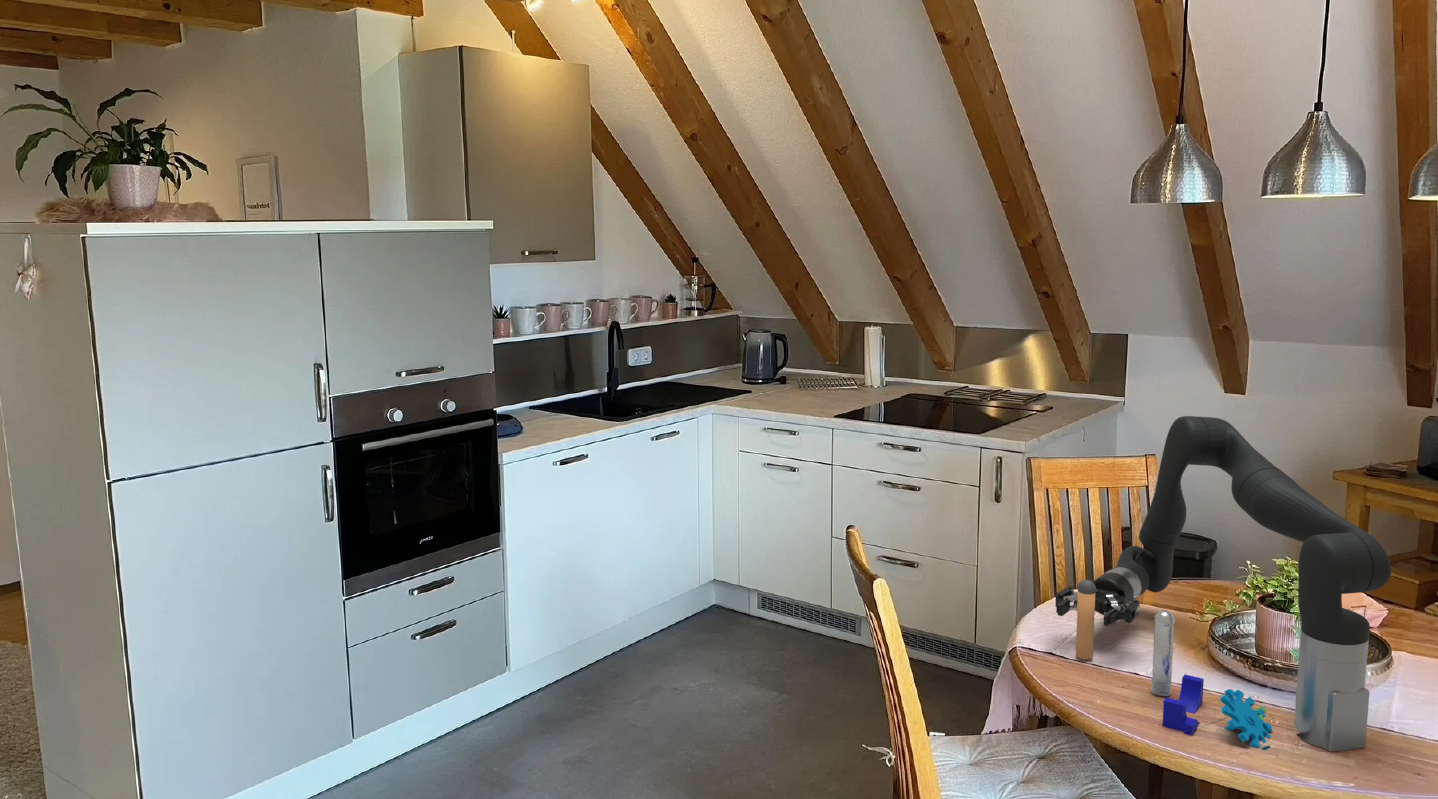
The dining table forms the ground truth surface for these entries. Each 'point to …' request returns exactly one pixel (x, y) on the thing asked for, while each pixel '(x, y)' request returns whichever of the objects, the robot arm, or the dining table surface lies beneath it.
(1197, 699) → the cable clip
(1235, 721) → the gear
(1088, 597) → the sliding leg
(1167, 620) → the fixed leg
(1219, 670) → the dining table surface
